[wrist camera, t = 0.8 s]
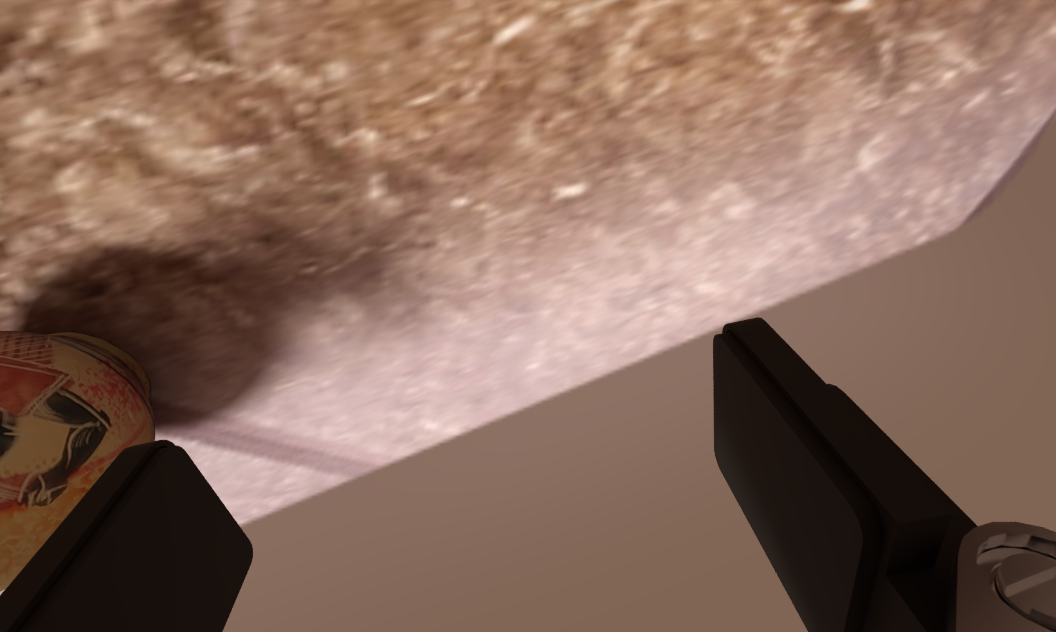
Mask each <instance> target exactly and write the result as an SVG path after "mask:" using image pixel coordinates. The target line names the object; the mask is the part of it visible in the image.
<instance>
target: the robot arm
mask: <svg viewBox="0 0 1056 632" xmlns="http://www.w3.org/2000/svg"><path fill="white" fill-rule="evenodd" d="M713 375H714V376H713V380H714V452H715V456H716V460H717V463H718V466H719V468H720V470H721V472H722V474H723V476H724V478H725V480H726V481H727V483H728V485H729V487H730V489H731V491H732V492H733V494H734V496H735V498H736V500H737V502H738V503H739V505H740V507H741V509H742V511H743V513H744V515H745V516H746V518H747V520H748V522H749V524H750V525H751V527H752V529H753V531H754V533H755V534H756V536H757V538H758V540H759V542H760V544H761V546H762V548H763V549H764V551H765V553H766V555H767V557H768V559H769V560H770V562H771V564H772V566H773V568H774V570H775V572H776V573H777V575H778V577H779V579H780V581H781V582H782V584H783V586H784V588H785V590H786V592H787V594H788V595H789V597H790V599H791V601H792V603H793V604H794V606H795V608H796V610H797V612H798V614H799V616H800V617H801V619H802V621H803V623H804V625H805V627H806V628H807V630H808V632H1056V532H1054V531H1051V530H1049V529H1046V528H1043V527H1039V526H1034V525H1029V524H1024V523H1019V522H991V523H988V524H984V525H981V526H977V525H976V524H975V523H974V522H973V521H972V520H971V519H970V518H969V517H968V516H967V515H966V514H965V513H964V512H963V511H962V510H961V509H960V508H959V507H958V506H957V505H956V504H955V503H954V502H953V501H952V500H951V499H950V498H949V497H948V496H947V495H946V494H945V493H944V492H943V491H942V490H941V489H940V488H939V487H938V486H937V485H936V484H935V483H934V482H933V481H932V480H931V479H930V478H929V477H928V476H927V475H926V474H925V473H924V472H923V471H922V470H921V469H920V468H919V467H918V466H917V465H916V464H915V463H914V462H913V461H912V460H911V459H910V458H909V457H908V456H907V455H906V454H905V453H904V452H903V451H902V450H901V449H900V448H899V447H898V446H897V445H896V444H895V443H894V442H893V441H892V440H891V439H890V438H889V437H888V436H887V435H886V434H885V433H884V432H883V431H882V430H881V429H880V428H879V427H878V426H877V425H876V424H875V423H874V422H873V421H872V420H871V419H870V418H869V417H868V416H867V415H866V414H865V413H864V412H863V411H862V410H861V409H860V408H859V407H858V406H857V405H856V404H855V403H854V402H853V401H852V400H851V399H850V398H849V397H848V396H847V395H846V394H845V393H844V392H843V391H842V390H841V389H839V388H838V387H837V386H834V385H831V384H826V383H825V382H824V381H823V380H822V379H821V378H820V377H819V376H818V375H817V374H816V373H815V372H814V371H813V370H812V369H811V368H810V367H809V366H808V365H807V364H806V363H805V362H804V361H803V360H802V358H801V357H800V356H799V355H798V354H797V353H796V352H795V351H794V350H793V349H792V348H791V347H790V346H789V345H788V344H787V343H786V342H785V341H784V340H783V339H782V338H781V337H780V336H779V335H778V334H777V333H776V332H775V331H774V330H773V329H772V328H771V327H770V326H769V324H768V323H767V322H766V321H764V320H763V319H762V318H758V317H757V318H753V319H748V320H743V321H738V322H733V323H728V324H726V325H724V327H723V331H722V334H717V335H715V336H714V339H713ZM252 558H253V548H252V544H251V542H250V540H249V539H248V537H247V536H246V535H245V533H244V532H243V531H242V529H241V528H240V526H239V525H238V524H237V522H236V521H235V519H234V518H233V517H232V515H231V514H230V512H229V511H228V510H227V508H226V507H225V505H224V504H223V503H222V501H221V500H220V499H219V497H218V496H217V494H216V493H215V492H214V490H213V489H212V487H211V486H210V485H209V483H208V482H207V480H206V479H205V478H204V476H203V475H202V473H201V472H200V471H199V469H198V468H197V467H196V465H195V464H194V462H193V461H192V460H191V458H190V457H189V455H188V454H187V453H186V451H185V450H184V449H183V448H182V447H179V446H175V445H174V444H173V443H172V442H170V441H168V440H158V441H153V442H148V443H143V444H139V445H134V446H130V447H128V448H125V449H124V450H123V451H122V452H121V453H120V454H119V455H118V456H117V457H116V458H115V460H114V461H113V462H112V463H111V464H110V466H109V467H108V468H107V469H106V470H105V472H104V473H103V474H102V475H101V476H100V477H99V479H98V480H97V481H96V482H95V483H94V485H93V486H92V487H91V488H90V489H89V491H88V492H87V493H86V494H85V495H84V497H83V498H82V499H81V500H80V501H79V502H78V504H77V505H76V506H75V507H74V508H73V510H72V511H71V512H70V513H69V514H68V516H67V517H66V518H65V519H64V520H63V522H62V523H61V524H60V525H59V526H58V527H57V529H56V530H55V531H54V532H53V533H52V535H51V536H50V537H49V538H48V539H47V541H46V542H45V543H44V544H43V545H42V547H41V548H40V549H39V550H38V551H37V552H36V554H35V555H34V556H33V557H32V558H31V560H30V561H29V562H28V563H27V564H26V566H25V567H24V568H23V569H22V570H21V571H20V573H19V574H18V575H17V576H16V577H15V579H14V580H13V581H12V582H11V583H10V585H9V586H8V587H7V588H6V589H5V591H4V592H3V593H2V594H1V595H0V632H222V631H223V629H224V626H225V624H226V622H227V619H228V617H229V615H230V612H231V610H232V608H233V605H234V603H235V600H236V598H237V596H238V593H239V591H240V589H241V586H242V584H243V582H244V579H245V577H246V575H247V572H248V570H249V567H250V565H251V562H252Z"/></svg>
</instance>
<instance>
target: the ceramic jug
mask: <svg viewBox="0 0 1056 632" xmlns="http://www.w3.org/2000/svg"><path fill="white" fill-rule="evenodd" d="M150 395H151V388H150V381H149V379H148V377H147V375H146V374H145V372H144V370H143V369H142V368H141V366H140V365H139V364H138V363H137V362H136V361H135V360H134V359H133V358H132V357H131V356H130V355H129V354H127V353H126V352H124V351H122V350H121V349H119V348H117V347H116V346H114V345H113V344H111V343H110V342H108V341H105V340H102V339H100V338H97V337H93V336H89V335H86V334H82V333H75V332H62V333H53V334H46V335H44V334H37V333H30V332H19V331H0V591H2V590H4V589H6V588H7V587H8V586H9V585H10V583H11V582H12V581H13V580H14V579H15V577H16V576H17V575H18V574H19V573H20V571H21V570H22V569H23V568H24V567H25V566H26V564H27V563H28V562H29V561H30V560H31V558H32V557H33V556H34V555H35V554H36V552H37V551H38V550H39V549H40V548H41V547H42V545H43V544H44V543H45V542H46V541H47V539H48V538H49V537H50V536H51V535H52V533H53V532H54V531H55V530H56V529H57V527H58V526H59V525H60V524H61V523H62V522H63V520H64V519H65V518H66V517H67V516H68V514H69V513H70V512H71V511H72V510H73V508H74V507H75V506H76V505H77V504H78V502H79V501H80V500H81V499H82V498H83V497H84V495H85V494H86V493H87V492H88V491H89V489H90V488H91V487H92V486H93V485H94V483H95V482H96V481H97V480H98V479H99V477H100V476H101V475H102V474H103V473H104V472H105V470H106V469H107V468H108V467H109V466H110V464H111V463H112V462H113V461H114V460H115V458H116V457H117V456H118V455H119V454H120V453H121V452H122V451H123V450H124V449H125V448H128V447H130V446H134V445H139V444H143V443H148V442H153V441H155V424H154V412H153V410H152V407H151V403H150Z"/></svg>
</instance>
